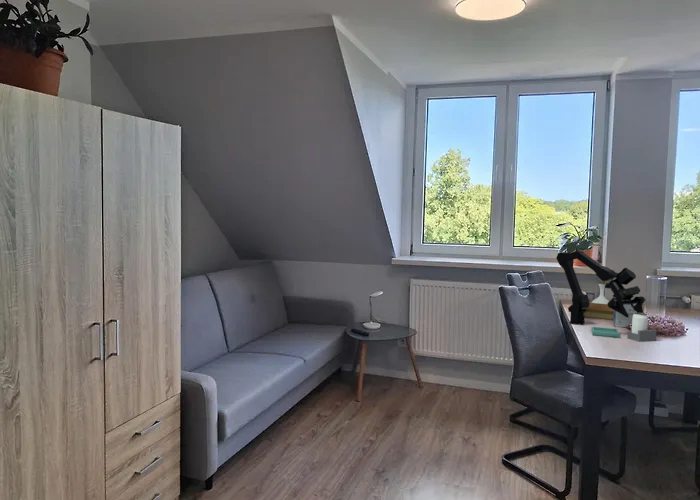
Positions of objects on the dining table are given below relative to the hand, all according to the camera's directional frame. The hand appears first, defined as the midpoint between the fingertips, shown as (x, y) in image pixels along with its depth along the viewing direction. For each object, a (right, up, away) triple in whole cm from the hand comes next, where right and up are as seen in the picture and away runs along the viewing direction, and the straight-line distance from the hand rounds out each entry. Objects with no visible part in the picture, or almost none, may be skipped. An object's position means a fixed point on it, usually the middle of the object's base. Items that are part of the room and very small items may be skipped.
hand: (635, 316), depth 258 cm
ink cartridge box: (+7, -8, +25) cm, 27 cm away
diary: (+7, -6, +52) cm, 53 cm away
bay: (+1, -10, -3) cm, 11 cm away
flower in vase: (+22, -4, +82) cm, 85 cm away
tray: (-12, -9, +5) cm, 16 cm away
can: (+1, -10, -2) cm, 11 cm away
